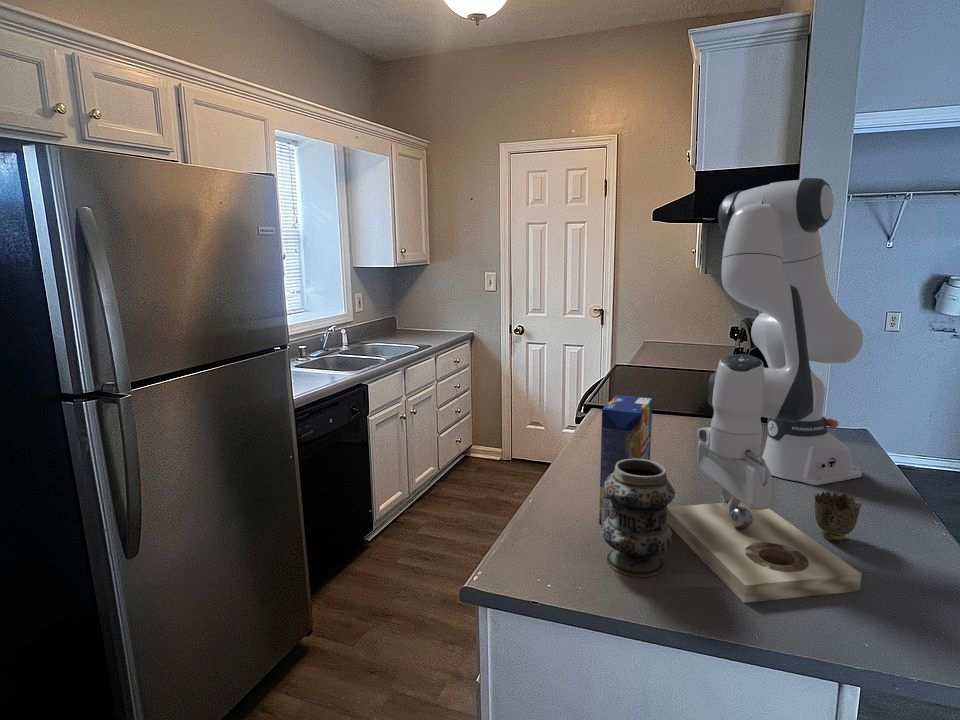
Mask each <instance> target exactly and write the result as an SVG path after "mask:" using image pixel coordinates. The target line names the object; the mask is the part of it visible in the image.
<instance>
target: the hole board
mask: <svg viewBox="0 0 960 720" xmlns="http://www.w3.org/2000/svg"><path fill="white" fill-rule="evenodd" d="M738 507H745V508H747V509H748V510H749V511H750V512H751V513H752V516H753V522H752V524H751V525H750V526H749V527H748V528H745V529H740V528H737V527H735V526H734V525H733V524H732V523H731V521H730V513H729V512H727V511H726V510H725V509H724V508H722V502H716V503H704V504H703V503H702V504H692V505H691V504H688V505H679V506H677V505H676V506H667V512H666V524H667V525H668V526H669V528H670V529H671V530H673V531H674V532H675V533H676V535H677V536H679V538H680V539H682V541H683V542H684V543H685V544H687V546H688V547H689V548H690V550H692V551H693V552H694V553H695V554H696V555H697V556H698V557H699V558H700V559H701V560H702V562H704V563H705V565H706V566H708V568H709V569H710V570H711V571H713V573H714V574H715V575H716V576H717V577H718V578H719V579H720V580H721V581H722V582H723V583H724V584H725V585H726V586H727V587H728V589H730V590H731V591H732V592H733V593H734V594H735V596H737V597H738V598H739V599H740V600H741V602H743V604H744V603H755V602H756V603H757V602H764V601H765V602H766V601H767V602H768V601H774V600H783V599H785V600H786V599H794V598H804V597H813V596H822V595H833V594H834V595H835V594H841V593H851V592H860V590H861V582H862V576H863V575H862V574H863V573H861V572H859V571H858V570H857V569H856V568H854V567H853V566H851V565H849V564H848V563H847V562H846V561H844V560H842V559H841V558H840V557H839V556H837V555H836V554H834V553H832V552H831V551H830V550H829V549H827V548H826V547H824V546H823V545H821V544H820V543H818V542H817V541H816V540H814V539H813V538H812V537H810V536H809V535H808V534H806V533H804V532H803V531H802V530H800V529H799V528H797V527H796V526H795V525H793V524H792V523H790V522H789V521H787V520H786V519H784V518H783V517H782V516H780V515H779V514H777V513H776V512H775V511H773V510H772V509H771V508H770V507H769V508H768V509H763V510H752V509H750V508H749V507H747V506H746V505H745V504H743V503H742V502H741V503H740V504H739V505H738Z"/></svg>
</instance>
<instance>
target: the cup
mask: <svg viewBox="0 0 960 720" xmlns="http://www.w3.org/2000/svg"><path fill="white" fill-rule="evenodd" d="M855 500H856V499H855V498H854V497H853V496H852V497H850V496H848V495H847V494H846V493H843V494H841V495H838V493H837V492H836V491H835V492H833V494H831V492H830V491H826V492H824V491H822V492H821V494H819V492H817V493H816V495H814V517H815V520H816V521H815V522H816V524H817V526H818V527H819V528H820V529H821V530H822V532H821V533H822V536H823V538H825V539H826V540H828V541H830V542H834V543H840V542H844V540H845V538H846V535H847V534H848V535H849V534H851V532H852V531H853V530H854V528H855V527H856V525H857V521H858V517H859V514H860V510H861V506H862V503H861V501H858V502H856V501H855Z"/></svg>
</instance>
